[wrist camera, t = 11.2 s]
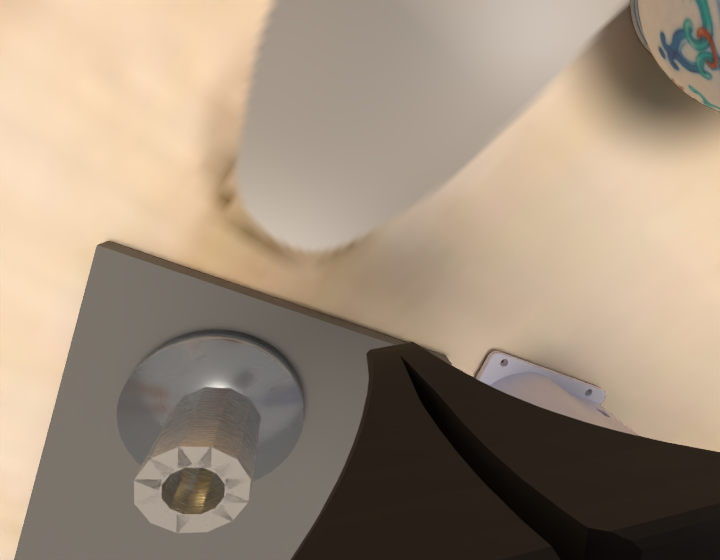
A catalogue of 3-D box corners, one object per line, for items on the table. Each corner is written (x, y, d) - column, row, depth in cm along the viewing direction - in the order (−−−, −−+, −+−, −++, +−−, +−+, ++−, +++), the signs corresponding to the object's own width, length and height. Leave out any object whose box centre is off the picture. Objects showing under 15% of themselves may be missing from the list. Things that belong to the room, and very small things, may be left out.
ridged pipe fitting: (263, 389, 18) (253, 447, 14) (257, 460, 19) (246, 531, 15) (169, 385, 17) (132, 445, 13) (168, 459, 18) (134, 534, 15)
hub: (328, 358, 19) (333, 395, 16) (271, 485, 21) (265, 541, 18) (154, 305, 17) (121, 336, 14) (108, 453, 19) (69, 510, 16)
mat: (445, 355, 22) (451, 364, 21) (298, 634, 27) (298, 651, 26) (108, 240, 17) (97, 245, 16) (9, 608, 22) (-4, 627, 21)
